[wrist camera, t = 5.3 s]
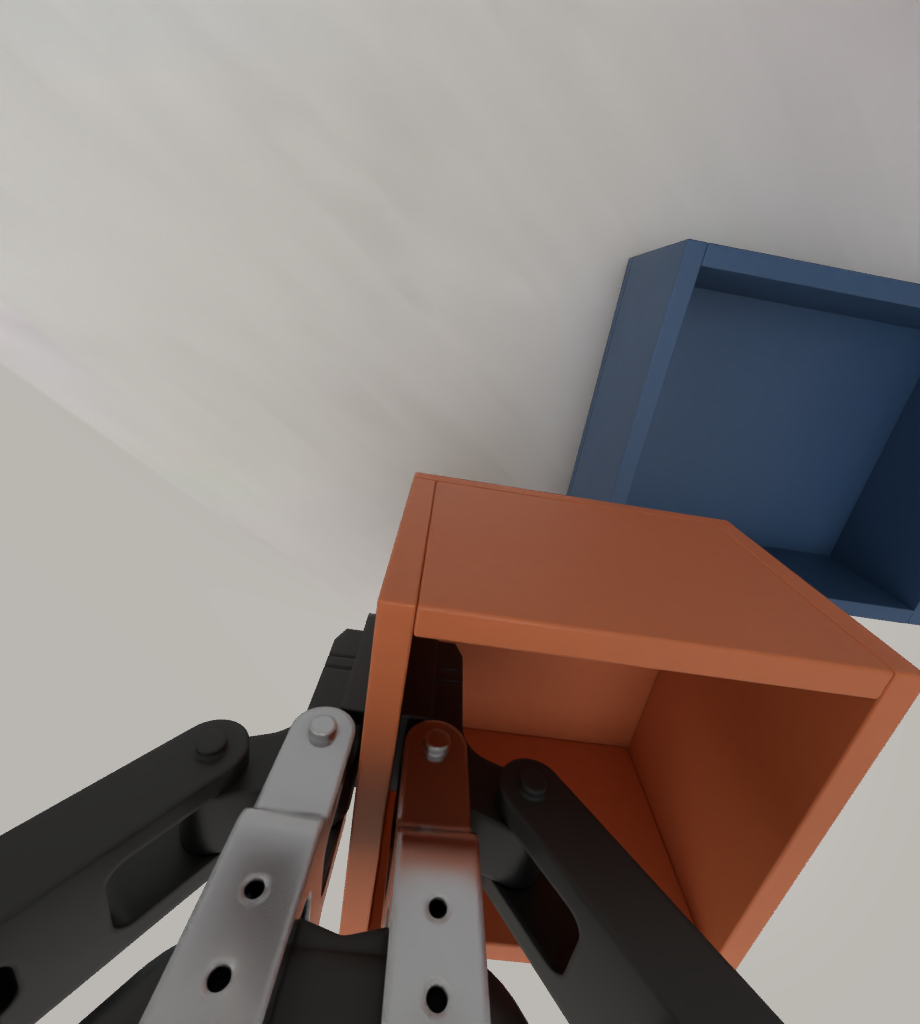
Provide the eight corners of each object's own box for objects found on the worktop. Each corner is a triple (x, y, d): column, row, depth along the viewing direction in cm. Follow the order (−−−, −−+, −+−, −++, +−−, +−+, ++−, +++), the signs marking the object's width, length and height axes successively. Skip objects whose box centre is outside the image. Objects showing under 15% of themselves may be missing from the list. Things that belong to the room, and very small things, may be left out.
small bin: (727, 520, 14) (932, 677, 8) (634, 749, 17) (728, 984, 11) (415, 471, 13) (377, 600, 7) (382, 718, 17) (337, 946, 11)
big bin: (952, 319, 25) (1111, 321, 19) (828, 564, 31) (921, 626, 25) (629, 257, 24) (688, 238, 18) (559, 523, 29) (586, 578, 23)
